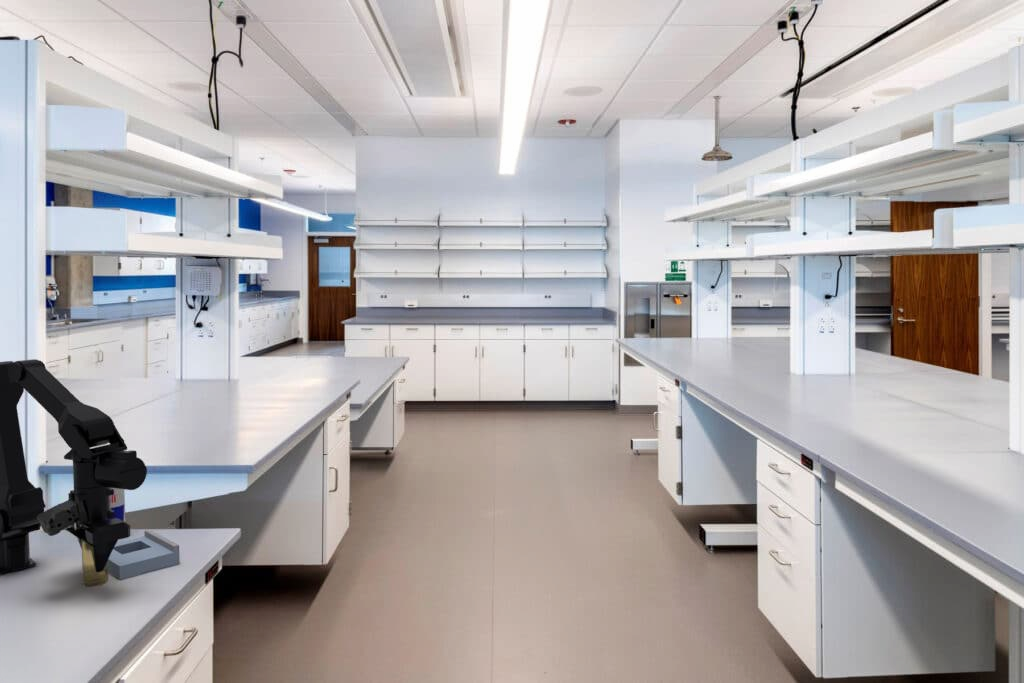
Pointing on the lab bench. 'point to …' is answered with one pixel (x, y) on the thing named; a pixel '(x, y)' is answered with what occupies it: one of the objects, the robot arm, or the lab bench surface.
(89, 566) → the cylinder
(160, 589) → the lab bench surface
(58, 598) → the lab bench surface
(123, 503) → the beverage can
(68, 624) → the lab bench surface
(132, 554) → the jig
